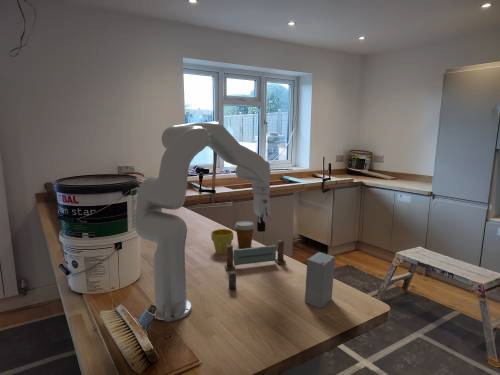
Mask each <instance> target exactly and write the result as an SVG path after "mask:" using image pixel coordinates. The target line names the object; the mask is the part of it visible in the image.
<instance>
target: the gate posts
mask: <svg viewBox="0 0 500 375" xmlns="http://www.w3.org/2000/svg"><path fill="white" fill-rule="evenodd" d="M284 245H285V240H282V239H278V240H277V257H276V261H274V262H275V263H276V265H277V266H282V265H286V264H287V261H286V260H285V259H284V254H285V253H284V251H285V246H284ZM224 269H225V271H226V272H228V290H230V291H235V290H236V289H237V272H236V265H234V246H233V245H232V244H231V245H227V254H226V264H224Z"/></svg>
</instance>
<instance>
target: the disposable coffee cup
mask: <svg viewBox="0 0 500 375" xmlns="http://www.w3.org/2000/svg"><path fill="white" fill-rule="evenodd" d="M234 227H235V230H236V231H235V232H236V237H237V238H236V239H237V246H238V249H242V248H243V249H246V248H252V242H253V237H254V236H253V233H254V228H255V224H254V222H253V221H251V220H250V221H249V220H240V221H237V222H236V223H235V225H234Z"/></svg>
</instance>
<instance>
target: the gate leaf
mask: <svg viewBox="0 0 500 375" xmlns="http://www.w3.org/2000/svg"><path fill="white" fill-rule="evenodd" d="M276 259H277V245H275V244H271V245H267V246H265V245H264V246H258V247H257V246H256V247H250V248H246V249H242V248H233V265H234V266H240V265H249V264H260V263H266V262H267V263H268V262H275V261H276Z"/></svg>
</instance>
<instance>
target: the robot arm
mask: <svg viewBox="0 0 500 375" xmlns="http://www.w3.org/2000/svg"><path fill="white" fill-rule="evenodd" d="M161 134H162V135H161V143H162V146H163V147H164V149H165V151H164V152H163V154H162V157H161V160H160V165H159V172H158V176H157V175H156V176H154V175H153V176H148V177H147V178H145V179H144V180H143V181H141V183H140V186H139V188H138V190H137V197H136V205H135V206H136V208H135V217H134V228H135V232H136V234H137V235H138V237H140V238H141V239H143V240H147V241H150V242H153V243H155V244H156V249H155V251H154V253H153V260H152V265H153V266H152V267H153V281H154V298H155V299H154V300H155V302H154V304H153V305H155V306H156V308H157V311H156V315H155V316H156V317H157V318H161V319H164V320H165V321H164V322H167V323H169V322H173V321H178V320H181V319H183V318H185V317H186V316H189V314H190V313H191V311H192V303H191V301H189V300H188V299H187V287H186V286H187V282H186V260H185V259H186V258H185V255H186V254H185V253H186V252H185V250H186V241H187V235H188V225H187V223H186V221H185V220H184V219H183V218H181V217H180V216H178V215H177V214H172V213H167V212H163V211H162V210H163V209H165V210H178V209H181V208H182V207H183V206H184V204H185V201H186V195H187V187H188V186H187V184H188V176H189V170H190V169H189V168H190V165H191V163H192V161H193V159H194V158H195V157H196V156H197V155H198V154H199V153H201V152H202V151H204V149H205V148H207V147H208V148H210V149H211V150H212V151H213V152H214V153H215V154H216V155H217V156H218V157H219V158H221V159H222V160H223V161H224V162H226V163H228V164H230V165H232V166H236V167H235V174H236V177H237V178H238V179H240V180H241V181H246V182H247V181H248V182H251V188H252V189H251V193H252V194H253V205H252V206H253V213H254V214H255V215H256V225H257V226H256V227H257V228H256V230H257V232H259V233H261V232H265V231H266V221H267V218H268V217H269V218H270V217H271V200H270V194H271V173H272V172H271V164H270V162H269V161H268V160H265V159H264V157H263V156H262V155H260V154H259V153H257V152H255V151H253V150H251V149H250V148H248V147H246V146H244V145H243V144H240V143H239V142H238V141H237V139H236V138H235V137H234V136H233V135H232V134H231V133H230V132H229V130H227V128H226V127H225V126H224V125H223V124H222V123H219V122H217V121H197V122H190V123H185V124H177V125H170V126H168V127H166V128H165V129H164V131H163V132H162V133H161Z"/></svg>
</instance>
